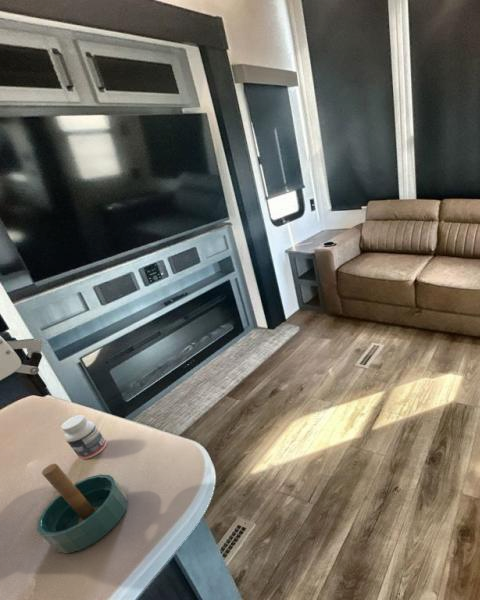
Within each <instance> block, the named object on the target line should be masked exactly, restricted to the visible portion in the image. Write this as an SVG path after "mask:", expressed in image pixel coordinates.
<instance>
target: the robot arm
mask: <svg viewBox="0 0 480 600" xmlns="http://www.w3.org/2000/svg"><path fill="white" fill-rule="evenodd" d="M21 349H23V350H24V349H26V352H27V353H26V355H25V358H24V360H23V363H22V360H21V358H20V356H19V355H18V354H17V352H16V351H15V350H21ZM42 358H43V354H42V340H41V339H39V338H24V339H14V340H5V339H4V338H3V337H2V336H1V335H0V381H2V380H3V379H5V378H7V377H9V376H11V375H13V374H14V373H19V374H18V379H19V381H20V382H21V383H22V384H23V386H24V387H25V389H27V391H28V392H29V394H31V396H35V397H40V398H45V397H47V396H48V395H49V392H48V391H47V390H46V388H47V384H46V383H45V381H44V380H43V378H42V377H41V376H40V375H39V371H40V368H39V366H40V363H41V360H42Z"/></svg>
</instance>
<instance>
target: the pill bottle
mask: <svg viewBox="0 0 480 600" xmlns="http://www.w3.org/2000/svg"><path fill="white" fill-rule="evenodd" d="M61 430H62V431H63V432H64V440H65V441H66V443H67V444H68V445H69V446H70V448H71V449H72V450H73V452H74V453H75V454H76V456H77V457H78V458H79V459H81V460H86V459H87V460H88V459H91V458H93V457H95V456H97V455H99V454H100V453H101V452H102V451H103V450H104V449H105V448H106V446H107V439H106V438H105V437H104V435H102V433H101V432H100V430H99V429H98V428H97V425H96V424H95V423H94V422H93V421H91V420H90V421H89V420H88V419H87V418H86V417H85V415H83V414H78V415H74V416H72V417H70V418H69V419H67V420H66V421H64V422H63V423H62V425H61Z"/></svg>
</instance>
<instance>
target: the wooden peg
mask: <svg viewBox="0 0 480 600" xmlns="http://www.w3.org/2000/svg"><path fill="white" fill-rule="evenodd" d="M41 475H43V477H44V478H45V479H46V480H47V481H48V482H49V484H50V485H51V486H52V487H53V488H54V489H55V491H56V492H57V493H58V495H59V494H60V495H61V496H62V497H63V498H64V499H65V500H66V502H67V503H68V504H69V505H70V506H71V507H72V508H73V510H74V511H75V512H76V513H77V514H78V515H79V516H80V519H79V521H78V524H79V523H81V522H82V521H84V520H85V519H87V518H88V517H89V516H91V515H92V514H93V513H94V512H95V511H96V510H97V509H98V508H100V507H92V506H91V505H90V503H89V502H88V501H87V500H86V499H85V497H84V496H83V495H82V494H81V493H80V491H79V490H78V489H77V488H76V487H75V485H74V484H75V483H73V482H72V480H71V479H70V477H68V476H67V474H65V472H64V471H63V469H61V467H60V466H59V465H58V464H57V463H52V464H49V465H48V466H46V467H45V468H44V469H43V470H42V471H41Z"/></svg>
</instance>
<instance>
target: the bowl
mask: <svg viewBox="0 0 480 600" xmlns="http://www.w3.org/2000/svg"><path fill="white" fill-rule="evenodd" d="M73 484H74V485H75V487H76V488H77V489H78V490H79V491H80V493H81V494H82V495H83V496H84V497H85V499H86V500H87V501H88V502H89V503H90V505H91V506H92V507H100V508H98V509H97V510H96V511H95V512H94V513H93V514H92V515H91V516H89V517H88V518H87V519H85V520H84V521H82V522H81V523H79V524H78V521H79V519H80V516H79V515H78V514H77V513H76V512H75V511H74V510H73V508H72V507H71V506H70V505H69V504H68V503H67V502H66V500H65V499H64V498H63V497H62V496H61V495H60V494H59V493H58V495H57V496H56V497H55V498H53V499H52V500H51V501H50V503H49V504H48V505H47V506H46V507H44V510H42V512H41V513H40V516H39V518H38V520H37V522H36V531H37V532H38V533H39V534H40V535H41V537H43V539H44V540H46V542H48V543H49V544H50V545H51V547H52V548H54V549H55V550H56V552H57V553H64V554H70V553H74V552H77V551H81V550H83V549H85V548H87V547H88V546H91V545H92V544H95V543H96V542H98V541H99V540H100V539H101V538H103V537H104V536H105V535H107V534H108V533H109V532H110V531H112V529H114V527H115V526H116V525H117V524H118V523H119V522H120V520H121V518H122V517H123V516H124V514H125V513H126V510H127V507H128V504H129V498H128V495H127V494H126V492H125V490H124V489H123V488H122V486H121V485H120V484H119V483H118V481H117V480H116V479H115V478H114V477H113V476H112V475H110V474H102V473H101V474H95V475H91V476H89V477H86V478H84V479H82V480H79V481H77V482H75V483H73Z"/></svg>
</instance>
